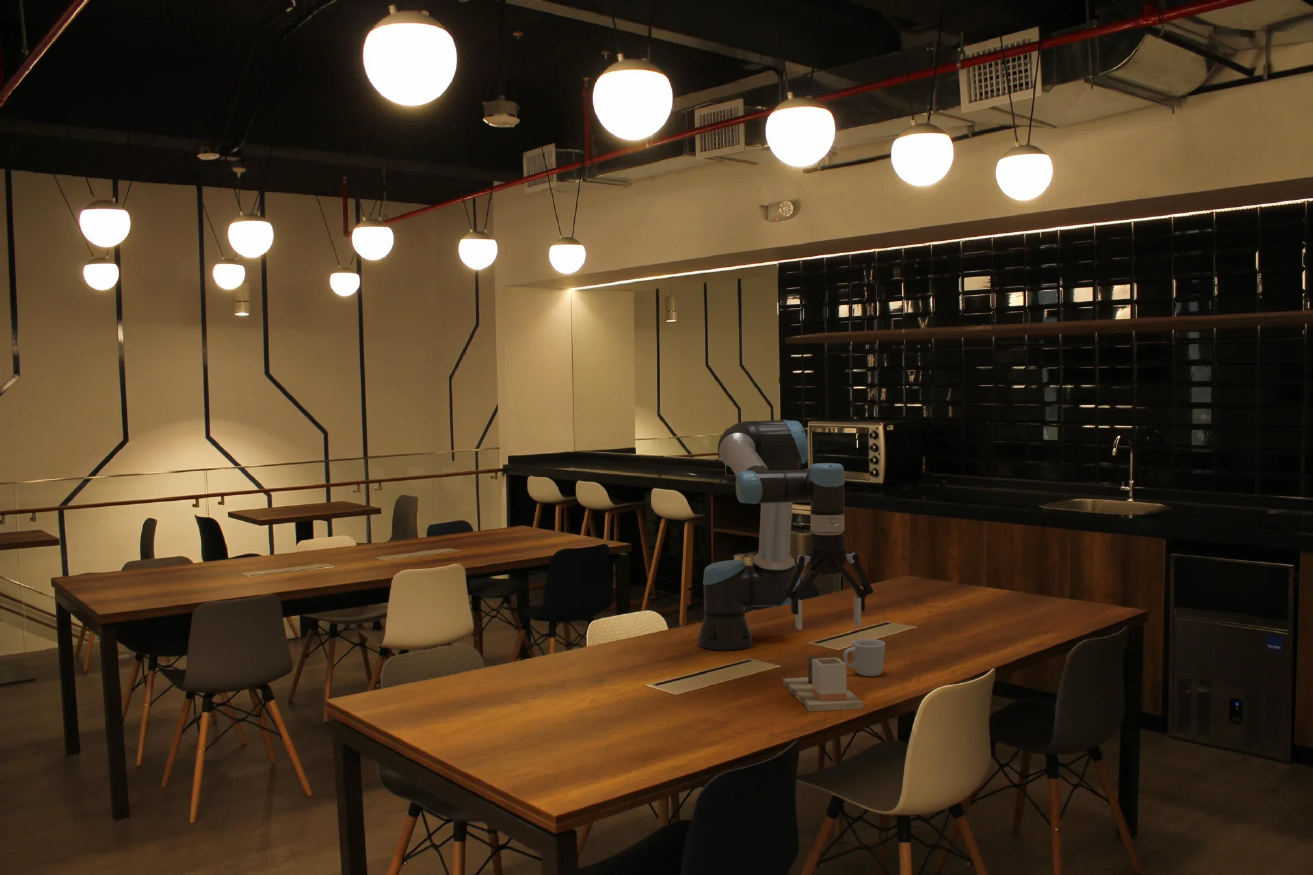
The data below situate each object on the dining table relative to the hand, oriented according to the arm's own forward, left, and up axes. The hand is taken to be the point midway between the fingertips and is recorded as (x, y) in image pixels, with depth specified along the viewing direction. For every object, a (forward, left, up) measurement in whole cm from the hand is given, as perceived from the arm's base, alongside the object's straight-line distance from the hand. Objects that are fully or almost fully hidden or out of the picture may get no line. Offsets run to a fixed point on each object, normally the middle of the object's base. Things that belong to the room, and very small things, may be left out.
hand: (828, 627), depth 224 cm
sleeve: (0, 0, -16) cm, 16 cm away
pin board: (-6, 0, -17) cm, 18 cm away
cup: (-22, +16, -17) cm, 32 cm away
